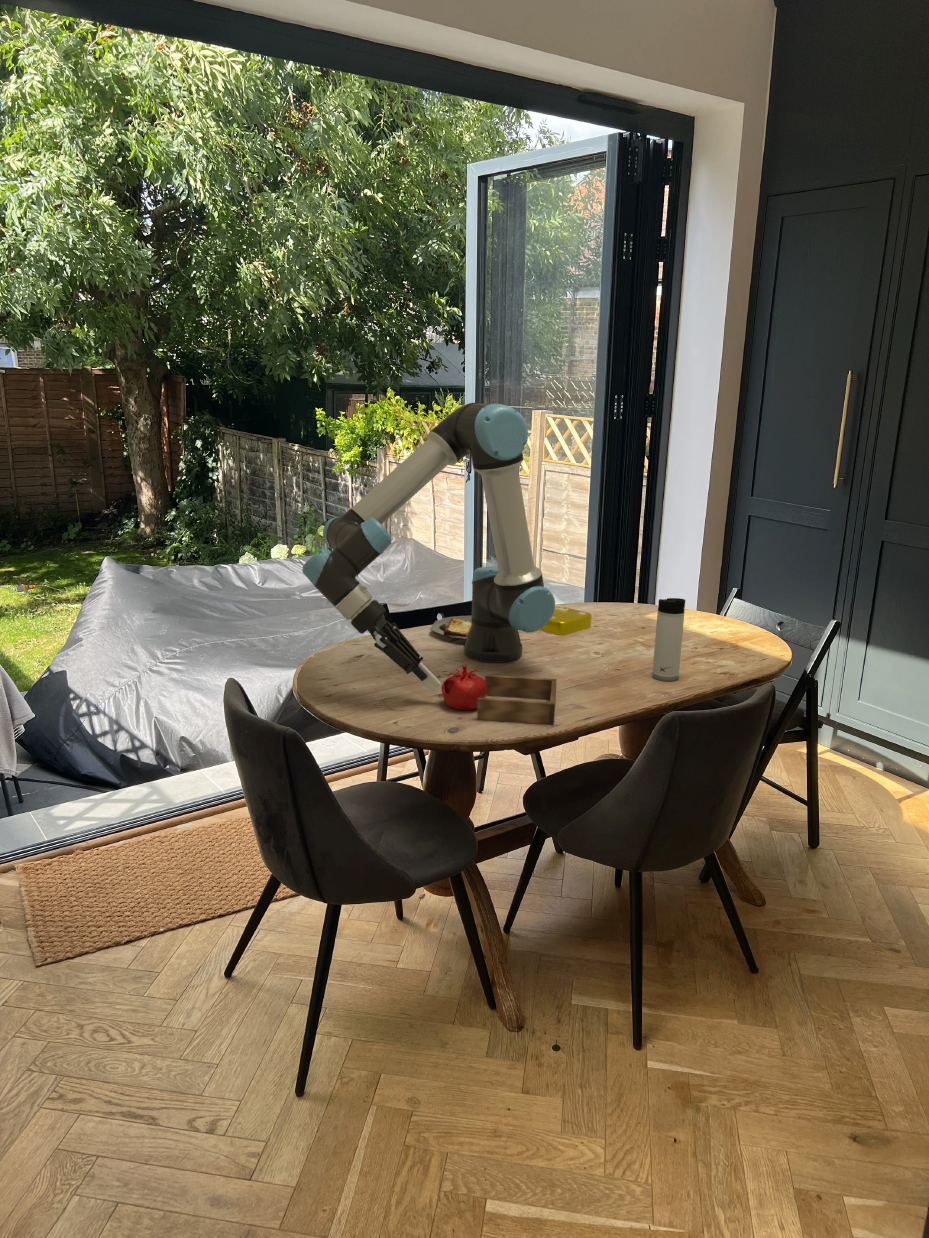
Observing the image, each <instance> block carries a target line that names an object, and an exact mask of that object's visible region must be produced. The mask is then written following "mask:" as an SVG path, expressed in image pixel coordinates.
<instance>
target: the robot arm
mask: <svg viewBox="0 0 929 1238" xmlns="http://www.w3.org/2000/svg"><path fill="white" fill-rule="evenodd" d="M528 439H529V429H528V426H527V422H526V420H525V419H524V417H523V416H522V414H521V413H520V412H519V411H518V410H516V409H515V408H513V407H511V406H508V405H505V404H501V403H486V402H485V403H482V402H469V403H466V404H464V405H461V406H459V407H458V408H457V409H455V410H453V411H452V412H451V413H449V414H448V415H447V416H446V417H445V418H444V419H442V420H441V421H440V422H439V423H438V424H437V425H435V427H434V428H432V429H431V430H430V431H429V432H428V434H427V440H425V442H424V443H422V444H421V445H420V446H419V447H418V448H417V449H416V450H415V451H413V452H412V453H411V454H410V455H408V457H406V458H405V460H403V461H402V462H401V463H400V464H399V465H397V467H395V468H394V469H393V470H392V471H391V472H390V473H389V474H387V476H385V477H384V478H383V479H382V480H381V481H380V482H379V483H378V484H376V485H375V486H374V487H373V488H372V489H371V490H370V491H369V492H367V494H366V495H364V496H363V497H362V498H360V500H359V501H357V502H356V503H355V504H354V505H353V506H352V507H351V508H350V509H348V510H347V511H346V512H345V513H343V515H342V516H338V517H337V516H336V517H332V518H330V519H329V520H327V522H325V524H324V526H323V530H322V536H323V539H324V540H323V541H324V542H325V543H326V544H327V546H328V547H330V548H331V550H330V549H328V548H327V547H322V548H320V549H319V550H318V551H317V552H315V553H314V554H313V555H312V556H311V557H310V558H309V559H308V560H307V561H306V562H305V563H304V564H303V565H302V569H301V570H302V574H303V575H304V576H305V577H306V578H307V579H308V580H309V582H310V583H311V584H312V585H313V587H314V588H315V589H316V590H318V592H320V594H322V596H323V597H325V599H326V600H327V601H328V602H329V603H331V605H332V606H333V607H334V608H335V609H336V610H337V611H338V612H339V613H340V614H341V616H342V617H343V618H344V619H345V620H346V621H349V620H350V625H351V626H353V628H354V629H355V630H356V631H357V632H358V633H359V634H365V632H368V633H369V635H370V636H371V637H372V639H373V640H374V644H373V646H374V647H375V648H376V649H378V650H380V651H381V652H382V653H383V654H385V655H386V656H387V657H388V658H389V659H390V660H391V661H392V662H394V663H395V664H396V665H397V666H398V667H399V668H401V670H403V671H404V672H405V673H406V674H407V675H409V674H410V673H412V674H413V675H414V676H415V678H417V679H418V681H419V682H420V683H421V684H422V685H423V686H424V687H425V688H426V689H427V690H428V691H429V692H430V693H431V694H433V693H434V692H435V691H436V690H437V689H439V687H440V686H442V682H441V681H440V680H439V679H438V678H437V677H436V676H435V674H433V672H432V671H430V669H428V667H427V666H426V665H425V664H424V663H423V662H422V661H423V660H424V657H423V656H421V654H420V653H419V652H418V651H417V650H416V649H415V647H414V646H413V645H412V643H410V641H409V640H408V638H406V636H405V635H404V634H403V633H402V631H401V630H400V628H399V627H398V625H397V624H396V623H395V622H392V623H390V622H389V621H387V619H385V618H384V617H383V616H384V615H385V613H386V611H387V610H386V608H384V606H383V605H382V604H381V603H380V602H379V601H378V600H377V599H372V598H373V595H372V594H371V593H370V592H369V591H368V587H367V586H365V585H364V586H363V585H362V583H361V582H360V581H359V580H358V579H357V578H356V577H357V576H359V575H360V574H361V573H362V571H364V570H365V569H366V568H367V567H368V566H370V564H372V563H373V561H375V560H376V559H377V558H378V557H379V556H381V555H383V553H384V552H385V551H386V549H388V547H389V546H390V545H391V544H392V541H393V538H392V535H390V532H388V530H387V529H386V527H384V526H383V524H384V523H385V522H386V521H387V520H388V519H389V518H392V517H391V516H393V515H394V514H395V513H396V512H397V511H398V510H399V509H401V508H402V507H403V506H404V505H405V504H406V503H407V502H409V500H411V498H413V497H414V496H416V494H417V493H418V492H420V491H421V489H424V487H425V486H426V485H427V484H428V483H430V482H431V481H432V480H433V479H434V478H435V477H436V476H438V474H440V473H441V472H442V471H443V470H444V469H445V468H446V467H448V466H449V465H456V464H457V463H458V462H460V460H462V459H463V458H465V457H467V456H469V455H470V457H471V459H470V460H471V463H472V469H473V470H474V471H475V472H477V473H478V474H480V476H481V481H482V487H483V492H484V497H485V498H484V499H485V503H486V507H487V509H486V510H487V514H488V515H487V516H488V520H489V525H490V530H491V535H492V540H493V546H494V553H495V558H496V564H497V565H493V566H491V565H490V566H482V567H477V568H476V569H475V570H474V571H473V573H472V580H471V584H472V587H471V588H472V589H471V593H472V594H471V595H472V596H471V616H472V624H471V628H470V631H469V634H468V637H467V640H466V641H465V642H464V646H463V654H464V655H465V657H467V658H469V659H472V660H474V661H479V662H483V663H484V662H486V663H507V662H512V661H517V660H519V659H520V658H521V657H522V656H523V644H522V642H521V641H522V640H521V638H520V633H519V631H521V632H524V633H535V632H538V631H540V629H541V628H543V627H544V626H545V625H546V624H547V623H548V622H549V620H550V618H552V616H553V613H554V610H555V605H556V600H555V597H554V594H553V593H552V592H551V591H550V589H548V588H547V587H546V586H545V584H544V579H543V577H544V576H543V573H542V570H541V569H540V568H539V567H537V566H535V561H534V557H533V551H532V545H531V539H530V533H529V531H530V530H529V526H528V525H529V524H528V521H527V515H526V509H525V503H524V495H523V490H522V484H521V478H520V472H519V468H520V466H521V465H522V463H523V462H524V455H523V451H524V450H525V446H526V445H527V443H528ZM332 549H333V550H332Z"/></svg>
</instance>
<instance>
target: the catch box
mask: <svg viewBox="0 0 929 1238" xmlns="http://www.w3.org/2000/svg"><path fill="white" fill-rule="evenodd" d="M484 680H485V681H486V685H487V694H486V696H495V697H509V698H511V697H512V698H523V699H539V700H549V701H537V700H536V701H535V700H522V699H507V698H493V697H492V698H490V697H485V698H478V707H477V708H476V709H477V711H476V712H477V714H476V715H477V717H476V718H477V719H476V720H481V721H496V722H512V723H513V722H514V723H523V724H524V723H526V724H540V725H541V724H542V725H554V724H555V713H556V712H555V711H556V701H557V700H556V698H557V679H556V678H546V677H545V678H544V677H543V678H541V677H527V676H526V677H525V676H513V675H512V676H511V675H510V676H509V675H494V674H485V675H484Z"/></svg>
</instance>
